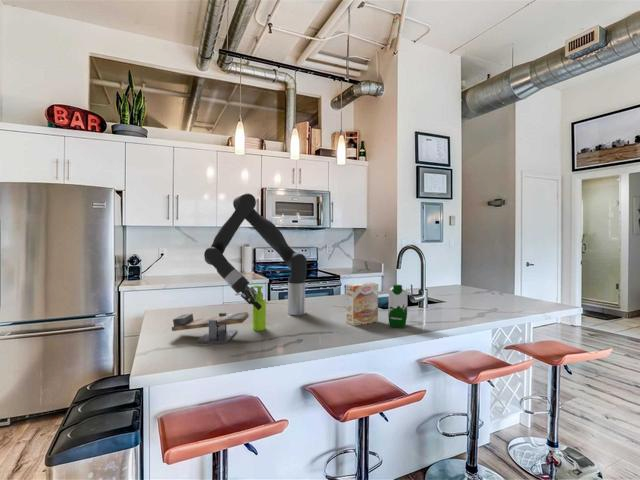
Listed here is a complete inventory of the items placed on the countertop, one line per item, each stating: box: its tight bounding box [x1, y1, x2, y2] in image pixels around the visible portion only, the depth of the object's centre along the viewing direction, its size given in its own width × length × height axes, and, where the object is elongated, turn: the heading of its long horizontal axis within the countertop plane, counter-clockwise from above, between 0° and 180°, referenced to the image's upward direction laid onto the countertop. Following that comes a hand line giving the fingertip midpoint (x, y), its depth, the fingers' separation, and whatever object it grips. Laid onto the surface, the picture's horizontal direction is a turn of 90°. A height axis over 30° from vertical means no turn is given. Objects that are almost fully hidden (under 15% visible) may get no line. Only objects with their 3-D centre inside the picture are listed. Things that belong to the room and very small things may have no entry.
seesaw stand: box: [196, 312, 238, 345], centre depth 148 cm, size 12×16×9 cm
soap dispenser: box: [250, 285, 267, 331], centre depth 161 cm, size 6×7×20 cm
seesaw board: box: [171, 311, 250, 332], centre depth 148 cm, size 30×10×5 cm, turn 86°
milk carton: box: [387, 284, 408, 329], centre depth 168 cm, size 9×9×20 cm
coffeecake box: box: [345, 281, 379, 327], centre depth 173 cm, size 15×7×20 cm, turn 117°
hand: (261, 306), depth 161 cm, fingers closed on soap dispenser, 6 cm apart
